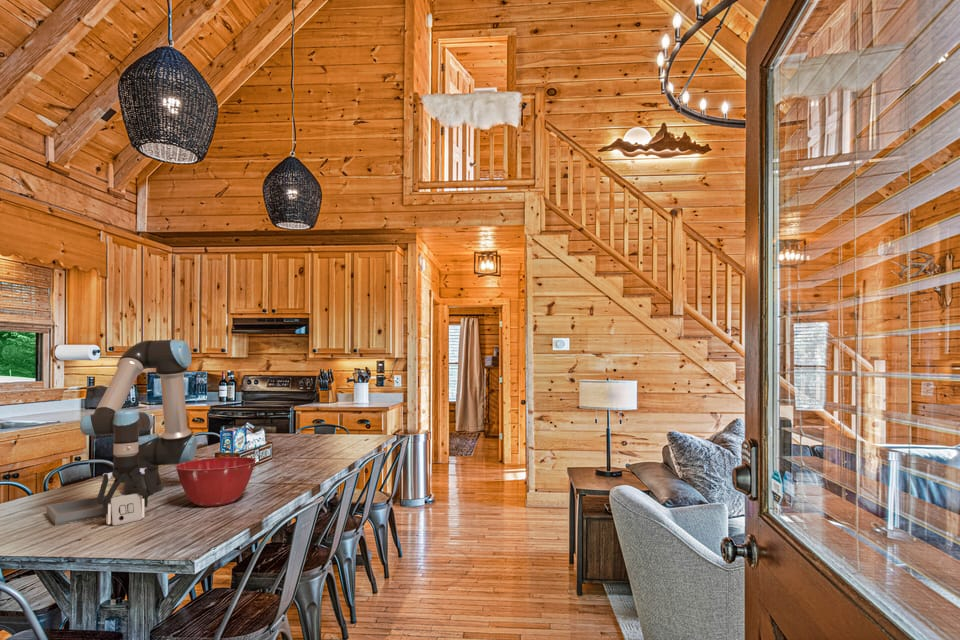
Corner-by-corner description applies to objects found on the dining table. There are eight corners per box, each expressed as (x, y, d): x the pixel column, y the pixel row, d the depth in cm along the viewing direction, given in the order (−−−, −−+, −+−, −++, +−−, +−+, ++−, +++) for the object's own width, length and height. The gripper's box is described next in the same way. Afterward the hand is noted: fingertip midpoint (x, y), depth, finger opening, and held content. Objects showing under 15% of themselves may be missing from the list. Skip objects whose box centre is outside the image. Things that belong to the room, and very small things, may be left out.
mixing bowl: (199, 493, 242) (199, 456, 243) (267, 493, 241) (267, 455, 242) (159, 512, 214) (159, 470, 215) (236, 512, 213) (236, 469, 214)
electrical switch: (112, 526, 197) (112, 498, 199) (107, 525, 201) (106, 497, 202) (142, 520, 205) (142, 493, 206) (136, 519, 208) (136, 492, 209)
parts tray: (109, 504, 228) (110, 495, 228) (122, 513, 214) (122, 504, 214) (46, 514, 214) (46, 505, 215) (55, 525, 200) (55, 515, 200)
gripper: (90, 460, 194) (89, 529, 193) (164, 451, 209) (163, 515, 208) (86, 458, 199) (85, 525, 198) (158, 449, 214) (157, 511, 213)
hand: (125, 520), depth 203 cm, fingers closed on electrical switch, 9 cm apart
